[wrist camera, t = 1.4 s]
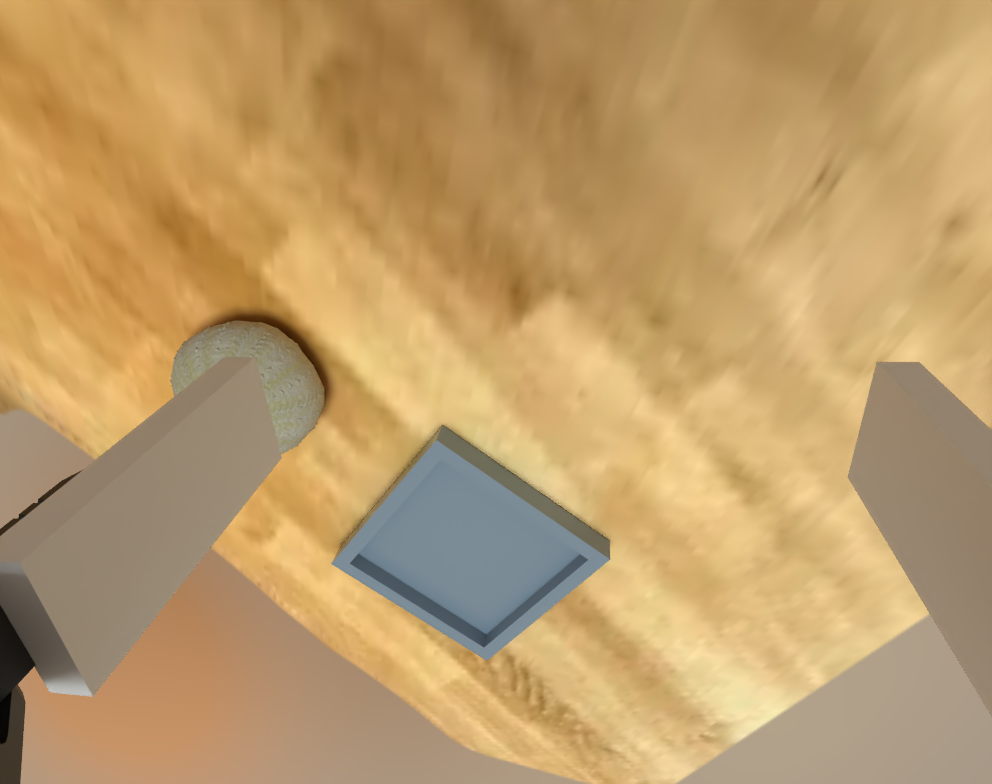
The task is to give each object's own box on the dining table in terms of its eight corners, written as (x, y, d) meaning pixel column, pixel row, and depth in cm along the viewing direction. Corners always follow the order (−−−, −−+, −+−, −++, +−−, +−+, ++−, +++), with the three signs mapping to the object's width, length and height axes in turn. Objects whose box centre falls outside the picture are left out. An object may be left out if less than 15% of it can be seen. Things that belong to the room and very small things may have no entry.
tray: (340, 546, 46) (331, 563, 45) (442, 425, 40) (436, 440, 38) (490, 641, 49) (487, 660, 47) (609, 541, 42) (610, 559, 41)
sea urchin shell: (148, 315, 37) (182, 364, 32) (279, 292, 41) (329, 332, 36) (180, 444, 41) (214, 506, 36) (295, 411, 46) (342, 462, 40)
